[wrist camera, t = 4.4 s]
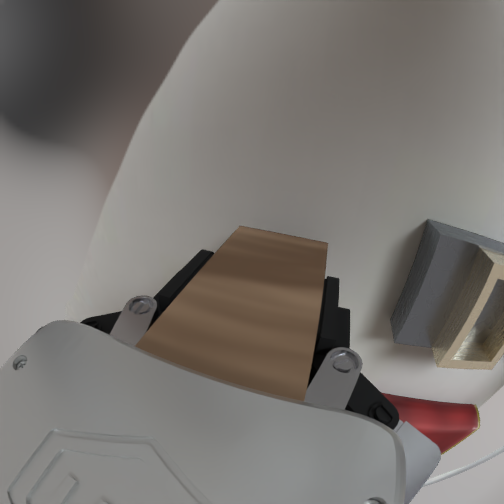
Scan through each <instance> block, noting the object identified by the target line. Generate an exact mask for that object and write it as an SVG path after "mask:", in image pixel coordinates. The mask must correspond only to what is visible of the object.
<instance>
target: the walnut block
mask: <svg viewBox="0 0 504 504" xmlns="http://www.w3.org/2000/svg"><path fill="white" fill-rule="evenodd" d="M327 249H328V243H326V242H321V241H316V240H311V239H306V238H301V237H296V236H291V235H286V234H281V233H275V232H270V231H265V230H260V229H254V228H249V227H244V226H239V227H238V228H237V229H236V231H235V232H234V233H233V234H232V235H231V236H230V237H229V238H228V239H227V240H226V242H225V243H224V244H223V245H222V246H221V247H220V248H219V249H218V250H217V252H216V253H215V254H214V255H213V256H212V257H211V258H210V259H209V261H208V262H207V263H206V264H205V265H204V266H203V267H202V268H201V270H200V271H199V272H198V273H197V274H196V275H195V276H194V277H193V279H192V280H191V281H190V282H189V283H188V284H187V285H186V287H185V288H184V289H183V290H182V291H181V292H180V294H179V295H178V296H177V297H176V298H175V299H174V300H173V302H172V303H171V304H170V305H169V306H168V307H167V309H166V310H165V311H164V312H163V313H162V314H161V316H160V317H159V318H158V319H157V320H156V321H155V323H154V324H153V325H152V326H151V327H150V328H149V330H148V331H147V332H146V333H145V334H144V336H143V337H142V338H141V339H140V340H139V342H138V343H137V344H136V345H135V347H137V348H140V349H142V350H144V351H146V352H149V353H151V354H154V355H156V356H158V357H161V358H163V359H166V360H168V361H171V362H174V363H176V364H179V365H181V366H184V367H187V368H189V369H192V370H195V371H198V372H201V373H204V374H206V375H209V376H212V377H215V378H218V379H222V380H225V381H228V382H231V383H235V384H238V385H241V386H245V387H248V388H252V389H255V390H259V391H263V392H267V393H270V394H274V395H279V396H283V397H287V398H291V399H296V400H300V401H304V400H305V395H306V390H307V385H308V380H309V375H310V370H311V365H312V359H313V354H314V348H315V342H316V336H317V330H318V323H319V316H320V309H321V302H322V294H323V286H324V278H325V269H326V259H327Z"/></svg>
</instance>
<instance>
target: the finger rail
mask: <svg viewBox="0 0 504 504" xmlns="http://www.w3.org/2000/svg"><path fill="white" fill-rule="evenodd" d="M390 321H391V326H392V332H393V338H394V343H399V344H406V345H413V346H421V347H430V348H432V351H433V354H434V358H435V362H436V366H437V367H442V368H458V369H488V370H492V369H493V367H494V366H495V365H496V363H497V362H498V361H499V359H500V358H501V357H502V355H503V354H504V243H501V242H498V241H496V240H493V239H490V238H487V237H484V236H481V235H478V234H475V233H472V232H469V231H466V230H462V229H459V228H456V227H453V226H449V225H446V224H442V223H439V222H435V221H432V220H427V223H426V227H425V230H424V234H423V237H422V240H421V243H420V246H419V249H418V252H417V255H416V258H415V261H414V264H413V266H412V269H411V272H410V274H409V277H408V280H407V282H406V285H405V287H404V290H403V292H402V294H401V297H400V299H399V302H398V304H397V306H396V308H395V311H394V313H393V315H392V317H391V319H390Z"/></svg>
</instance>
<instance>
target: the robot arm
mask: <svg viewBox="0 0 504 504" xmlns="http://www.w3.org/2000/svg"><path fill="white" fill-rule="evenodd" d="M213 255H214V252H212V251H207V250H201V251H200V252H199V253H198V254H197V255H196V256H195V257H194V258H193V259H192V260H191V261H190V262H189V263H188V264H187V265H186V266H185V267H184V268H183V269H182V270H181V271H179V272H178V273H177V274H176V275H175V276H174V277H173V278H172V279H171V280H170V281H169V282H168V283H167V284H166V285H165V286H164V287H163V288H162V289H161V290H160V291H159V292H158V293H157V294H156V295H155V297H154V298H152V297H149V296H137V297H134V298H132V299H130V300H129V301H128V302H127V303H126V305H125V307H124V309H123V310H122V311H121V312H116V313H111V314H106V315H101V316H95V317H90V318H87V319H85V320H83V321H82V322H81V323H78V322H74V321H66V320H59V321H53V322H51V323H49V324H47V325H45V326H44V327H41V328H40V329H39V330H38V331H37V332H36V333H35V334H34V335H33V336H31V337H30V338H29V339H28V340H27V341H26V342H25V343H24V344H23V345H22V346H21V347H20V348H19V349H18V350H17V351H16V352H15V353H14V354H13V355H12V356H11V357H10V358H9V359H8V360H7V361H6V363H5V364H4V365H3V366H2V367H1V368H0V504H409V503H410V502H411V500H412V499H413V498H414V497H415V495H416V494H417V493H418V491H419V490H420V489H421V488H422V486H423V485H424V484H425V482H426V481H427V479H428V478H429V477H430V475H431V474H432V472H433V471H434V469H435V468H436V466H437V465H438V463H439V461H440V459H441V452H440V449H439V447H438V446H437V445H436V444H435V443H434V442H432V441H431V440H430V439H429V438H427V437H426V436H425V435H423V434H422V433H421V432H420V431H418V430H417V429H416V428H414V427H413V426H412V425H411V424H409V423H408V422H407V421H405V422H404V423H403V422H402V421H401V420H400V419H399V413H398V410H397V409H396V407H395V406H394V405H393V404H392V403H391V402H390V401H389V400H388V399H387V398H386V397H385V396H384V395H383V394H382V393H381V392H380V391H379V390H378V389H377V388H376V387H375V386H374V385H373V384H372V383H371V382H370V381H369V380H368V379H367V378H366V377H365V376H364V375H363V374H362V373H361V369H362V365H363V363H362V359H361V358H360V356H359V355H358V354H357V353H356V352H355V351H353V350H351V349H349V347H350V310H349V309H345V308H340V307H338V299H339V278H334V277H329V276H328V277H327V279H324V286H323V294H322V302H321V309H320V316H319V323H318V330H317V336H316V342H315V348H314V354H313V359H312V365H311V370H310V375H309V380H308V385H307V390H306V395H305V400H304V401H300V400H296V399H291V398H287V397H283V396H279V395H274V394H270V393H267V392H263V391H259V390H255V389H252V388H248V387H245V386H241V385H238V384H235V383H231V382H228V381H225V380H222V379H218V378H215V377H212V376H209V375H206V374H204V373H201V372H198V371H195V370H192V369H189V368H187V367H184V366H181V365H179V364H176V363H174V362H171V361H168V360H166V359H163V358H161V357H158V356H156V355H154V354H151V353H149V352H146V351H144V350H142V349H140V348H137V347H135V345H136V344H137V343H138V342H139V340H140V339H141V338H142V337H143V336H144V334H145V333H146V332H147V331H148V330H149V328H150V327H151V326H152V325H153V324H154V323H155V321H156V320H157V319H158V318H159V317H160V316H161V314H162V313H163V312H164V311H165V310H166V309H167V307H168V306H169V305H170V304H171V303H172V302H173V300H174V299H175V298H176V297H177V296H178V295H179V294H180V292H181V291H182V290H183V289H184V288H185V287H186V285H187V284H188V283H189V282H190V281H191V280H192V279H193V277H194V276H195V275H196V274H197V273H198V272H199V271H200V270H201V268H202V267H203V266H204V265H205V264H206V263H207V262H208V261H209V259H210V258H211V257H212V256H213Z"/></svg>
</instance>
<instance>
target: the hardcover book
mask: <svg viewBox="0 0 504 504" xmlns="http://www.w3.org/2000/svg"><path fill="white" fill-rule="evenodd" d="M382 394H383V395H384V396H385V397H386V398H387V399H388V400H389V401H390V402H391V403H392V404H393V405H394V406H395V407H396V409H397V410H398V413H399V419H400V420H401V421H402V422H403V423H404V422H405V421H407V422H408V423H409V424H411V425H412V426H413V427H414V428H416V429H417V430H418V431H420V432H421V433H422V434H423V435H425V436H426V437H427V438H429V439H430V440H431V441H432V442H434V443H435V444H436V445H437V446H438V447H439V449H440V452H441V455H442V454H444V453H445V452H447V451H448V450H450V449H451V448H453V447H454V446H456V445H457V444H459V443H460V442H461V441H463V440H464V439H466V438H467V437H468V436H470V435H471V434H472V433H474V432H475V431H476V430H477V429H479V427H480V417H479V412H478V409H477V406H476V405H472V404H458V403H447V402H438V401H430V400H422V399H415V398H408V397H402V396H396V395H391V394H385V393H382Z"/></svg>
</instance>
